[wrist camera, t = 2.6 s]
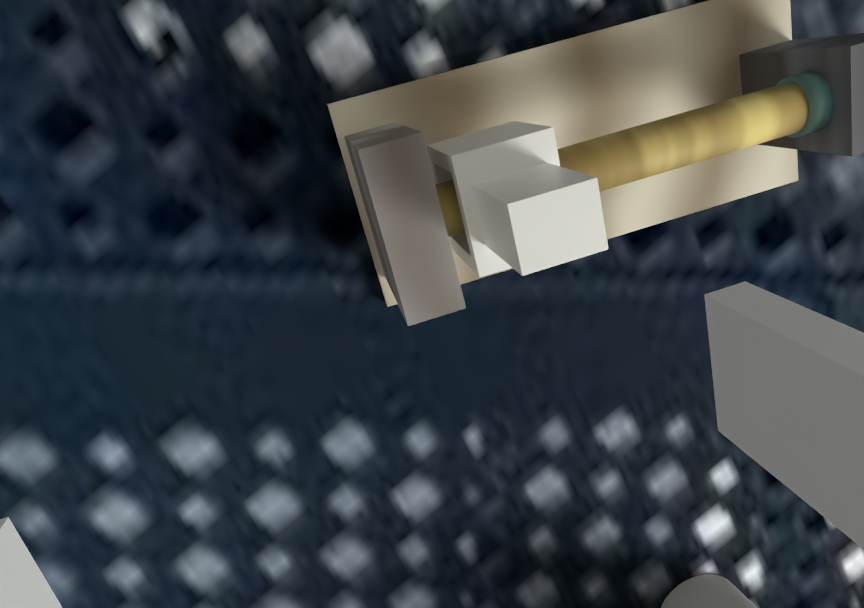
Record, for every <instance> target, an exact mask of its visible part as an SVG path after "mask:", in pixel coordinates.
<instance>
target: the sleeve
mask: <svg viewBox="0 0 864 608" xmlns="http://www.w3.org/2000/svg"><path fill="white" fill-rule="evenodd" d="M426 146H427V150H428V154H429V158H430V162H431V166H432V170H433V174H434V178H435V182H436V184H439V183H442V182H446V181H449V180H453V182H454V186H455V190H456V195H457V199H458V203H459V207H460V211H461V216H462V220H463V224H464V228H465V232H464V233H460V234H457V235H454V236H450V237H449V238H450V242H451V246H452V249H453V250H454V251H455V252H456V253H457V255H458V256H459V257H460V258H461V259H462V260H463V261H464V262H465V263H466V264H467V265H468V266H469V267H470V268H471V269H472V270H473V271H474V272H475V273H476V274H477V275H478V276H479V277H483V276H486V275H489V274H493V273H496V272H499V271H502V270H506V269H509V268H513V269H515V270H516V271H517V272H518V273H519V274H521V275H522V276H524V275H527V274H530V273H533V272H537V271H540V270H543V269H546V268H550V267H553V266H556V265H559V264H562V263H566V262H569V261H572V260H575V259H579V258H582V257H585V256H588V255H591V254H595V253H598V252H601V251H604V250H608V243H607V236H606V230H605V224H604V217H603V211H602V205H601V198H600V192H599V185H598V179H597V177H594V176H590V175H587V174H584V173H580V172H577V171H574V170H570V169H567V168H564V167H560V161H559V155H558V150H557V144H556V138H555V133H554V127H550V126H544V125H537V124H531V123H524V122H517V121H511V122H507V123H504V124H500V125H497V126H493V127H490V128H486V129H483V130H479V131H476V132H472V133H468V134H465V135H461V136H458V137H454V138H451V139H447V140H444V141H440V142H437V143H433V144H430V145H426Z"/></svg>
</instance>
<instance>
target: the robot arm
mask: <svg viewBox="0 0 864 608" xmlns="http://www.w3.org/2000/svg"><path fill="white" fill-rule="evenodd" d="M705 305H706V315H707V325H708V334H709V344H710V354H711V364H712V374H713V384H714V394H715V404H716V414H717V424H718V431H719V432H720V433H722V434H723V435H724V436H725V437H727V438H728V439H729V440H730V441H732V442H733V443H734V444H735V445H736V446H738V447H739V448H740V449H741V450H743V451H744V452H745V453H746V454H747V455H749V456H750V457H751V458H752V459H754V460H755V461H756V462H757V463H759V464H760V465H761V466H762V467H763V468H765V469H766V470H767V471H768V472H770V473H771V474H772V475H773V476H775V477H776V478H777V479H778V480H779V481H781V482H782V483H783V484H784V485H786V486H787V487H788V488H789V489H790V490H792V491H793V492H794V493H795V494H797V495H798V496H799V497H800V498H802V499H803V500H804V501H805V502H806V503H808V504H809V505H810V506H811V507H813V508H814V509H815V510H816V511H817V512H819V513H820V514H821V515H822V516H824V517H825V518H826V519H827V520H829V521H830V522H831V523H832V524H833V525H835V526H836V527H837V528H838V529H840V530H841V531H842V532H843V533H844V534H846V535H847V536H848V537H849V538H851V539H852V540H853V541H854V542H856V543H857V544H858V545H859V546H860V547H862V548H863V549H864V333H863V332H860V331H858V330H856V329H854V328H851V327H849V326H847V325H844V324H842V323H840V322H837V321H835V320H833V319H831V318H828V317H826V316H824V315H821V314H819V313H817V312H814V311H812V310H810V309H807V308H805V307H803V306H801V305H798V304H796V303H794V302H791V301H789V300H787V299H784V298H782V297H780V296H777V295H775V294H773V293H771V292H768V291H766V290H764V289H761V288H759V287H757V286H754V285H752V284H750V283H747V282H742V283H739V284H736V285H733V286H730V287H727V288H723V289H720V290H717V291H714V292H711V293H708V294H705ZM0 608H62V606H61V605H60V603H59V601H58V600H57V598H56V596H55V594H54V593H53V591H52V589H51V588H50V586H49V584H48V583H47V581H46V579H45V578H44V576H43V574H42V573H41V571H40V569H39V568H38V566H37V564H36V563H35V561H34V559H33V558H32V556H31V554H30V553H29V551H28V549H27V548H26V546H25V544H24V542H23V541H22V539H21V537H20V536H19V534H18V532H17V531H16V529H15V527H14V526H13V524H12V522H11V521H10V519H9V517H7V518H4V519H0Z"/></svg>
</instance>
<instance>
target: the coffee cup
mask: <svg viewBox="0 0 864 608" xmlns="http://www.w3.org/2000/svg"><path fill="white" fill-rule="evenodd" d="M661 608H757V607H756V606H755V605H754V604H753V603H752V602H751V601H750V600H749V599H748V598H747V597H746V596H745V595H743V594H742V593H741V592H740V591H739V590H738V589H737V588H736V587H735V586H734V585H733V584H732V583H731V582H730V581H729V580H728V579H726V578H724V577H722V576H719V575H715V574H704V575H699V576H695V577H692V578H690V579H688V580H686V581H684V582H682V583H681V584H679V585H678V586H677V587H676V588H674V589H673V590H672V591H671V592H670V593H669V595H668V596H667V597H666V598H665V600H664V602H663V604H662V605H661Z"/></svg>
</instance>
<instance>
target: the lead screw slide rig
mask: <svg viewBox="0 0 864 608" xmlns="http://www.w3.org/2000/svg"><path fill="white" fill-rule="evenodd" d="M327 106H328V109H329V112H330V116H331V119H332V123H333V126H334V129H335V133H336V136H337V139H338V143H339V146H340V150H341V153H342V156H343V160H344V163H345V166H346V170H347V173H348V177H349V180H350V183H351V187H352V190H353V193H354V197H355V200H356V204H357V207H358V210H359V214H360V217H361V221H362V224H363V227H364V231H365V234H366V237H367V241H368V244H369V248H370V251H371V254H372V258H373V261H374V264H375V268H376V271H377V275H378V278H379V281H380V285H381V288H382V291H383V295H384V298H385V302H386V304H387V306H388V307H389V306H392V305H395V304H398V306H399V308H400V310H401V312H402V314H403V316H404V318H405V320H406V323H407V325H408V326H410V325H414V324H417V323H420V322H423V321H426V320H430V319H433V318H436V317H439V316H442V315H446V314H449V313H452V312H455V311H458V310H462V309H465V308H466V306H465V302H464V298H463V294H462V290H461V286H460V284H464V283H467V282H470V281H473V280H477V279H480V278H483V277H486V276H490V275H493V274H496V273H499V272H503V271H506V270H509V269H512V268H509V269H506V270H502V271H499V272H496V273H493V274H489V275H486V276H483V277H479V276H478V275H477V274H476V273H475V272H474V271H473V270H472V269H471V268H470V267H469V266H468V265H467V264H466V263H465V262H464V261H463V260H462V259H461V258H460V257H459V256H458V255H457V253H456V252H455V251H454V250H453V249H452V246H451V242H450V238H449V237H450V236H454V235H457V234H460V233H464V232H465V228H464V224H463V220H462V216H461V211H460V207H459V203H458V199H457V195H456V190H455V186H454V182H453V180H449V181H446V182H442V183H439V184H436V182H435V178H434V174H433V170H432V166H431V162H430V158H429V154H428V150H427V146H426V145H430V144H433V143H437V142H440V141H444V140H447V139H451V138H454V137H458V136H461V135H465V134H468V133H472V132H476V131H479V130H483V129H486V128H490V127H493V126H497V125H500V124H504V123H507V122H511V121H517V122H524V123H531V124H537V125H544V126H550V127H554V133H555V138H556V144H557V150H558V155H559V161H560V167H564V168H567V169H570V170H574V171H577V172H580V173H584V174H587V175H590V176H594V177H597V179H598V185H599V192H600V198H601V205H602V211H603V217H604V224H605V230H606V236H607V239H610V238H613V237H616V236H619V235H623V234H626V233H629V232H632V231H636V230H639V229H642V228H645V227H649V226H652V225H655V224H658V223H662V222H665V221H668V220H671V219H675V218H678V217H681V216H684V215H688V214H691V213H694V212H697V211H701V210H704V209H707V208H710V207H714V206H717V205H720V204H723V203H726V202H730V201H733V200H736V199H739V198H743V197H746V196H749V195H752V194H756V193H759V192H762V191H765V190H769V189H772V188H775V187H778V186H782V185H785V184H788V183H791V182H795V181H798V163H797V150H805V151H813V152H821V153H829V154H837V155H845V156H855V155H858V154H862V153H864V33H860V34H850V35H840V36H829V37H819V38H808V39H798V40H792V30H791V8H790V0H708V1H704V2H700V3H697V4H693V5H689V6H686V7H682V8H678V9H675V10H671V11H667V12H664V13H660V14H656V15H653V16H649V17H645V18H642V19H638V20H634V21H631V22H627V23H623V24H620V25H616V26H612V27H609V28H605V29H601V30H598V31H594V32H590V33H587V34H583V35H579V36H576V37H572V38H568V39H565V40H561V41H557V42H554V43H550V44H546V45H542V46H539V47H535V48H531V49H528V50H524V51H520V52H517V53H513V54H509V55H506V56H502V57H498V58H495V59H491V60H487V61H484V62H480V63H476V64H473V65H469V66H465V67H462V68H458V69H454V70H451V71H447V72H443V73H440V74H436V75H432V76H429V77H425V78H421V79H418V80H414V81H410V82H407V83H403V84H399V85H396V86H392V87H388V88H385V89H381V90H377V91H374V92H370V93H366V94H363V95H359V96H355V97H352V98H348V99H344V100H341V101H337V102H333V103H330V104H327Z"/></svg>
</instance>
